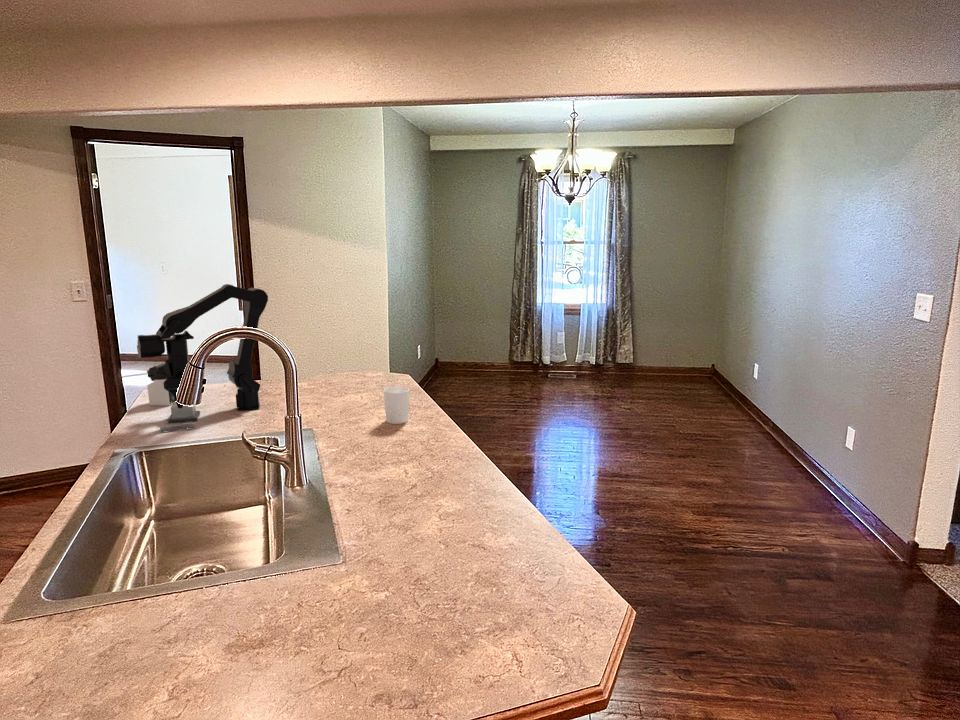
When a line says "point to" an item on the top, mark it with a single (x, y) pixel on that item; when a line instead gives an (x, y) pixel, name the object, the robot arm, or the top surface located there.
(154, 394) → the medicine bottle
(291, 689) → the top surface
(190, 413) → the end link
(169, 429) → the chain tail
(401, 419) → the white cup
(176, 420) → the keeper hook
